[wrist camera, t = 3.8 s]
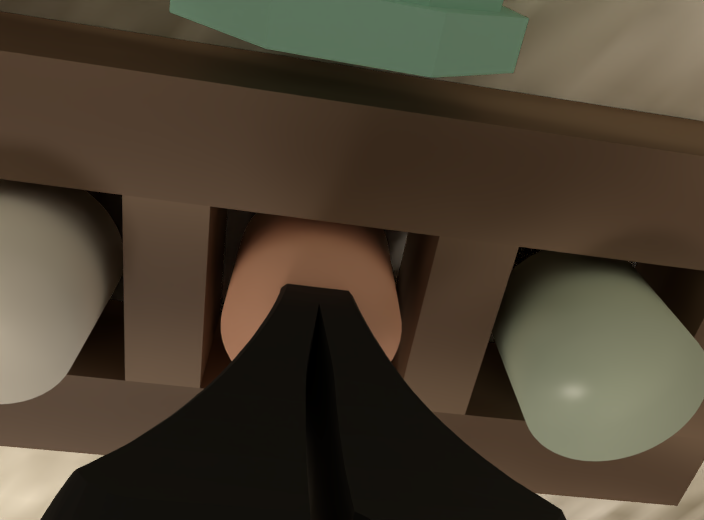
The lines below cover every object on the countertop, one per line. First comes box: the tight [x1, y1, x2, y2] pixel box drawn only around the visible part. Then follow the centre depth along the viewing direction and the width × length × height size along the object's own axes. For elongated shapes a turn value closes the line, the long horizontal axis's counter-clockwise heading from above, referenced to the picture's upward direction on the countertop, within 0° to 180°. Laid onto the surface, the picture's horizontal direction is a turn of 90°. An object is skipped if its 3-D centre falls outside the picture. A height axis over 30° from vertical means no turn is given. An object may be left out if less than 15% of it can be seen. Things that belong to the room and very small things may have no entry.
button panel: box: [0, 12, 704, 506], centre depth 14 cm, size 9×20×3 cm, turn 81°
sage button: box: [492, 250, 704, 461], centre depth 14 cm, size 4×4×3 cm
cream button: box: [0, 179, 123, 404], centre depth 12 cm, size 4×4×3 cm
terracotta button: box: [221, 213, 402, 361], centre depth 14 cm, size 4×4×3 cm
